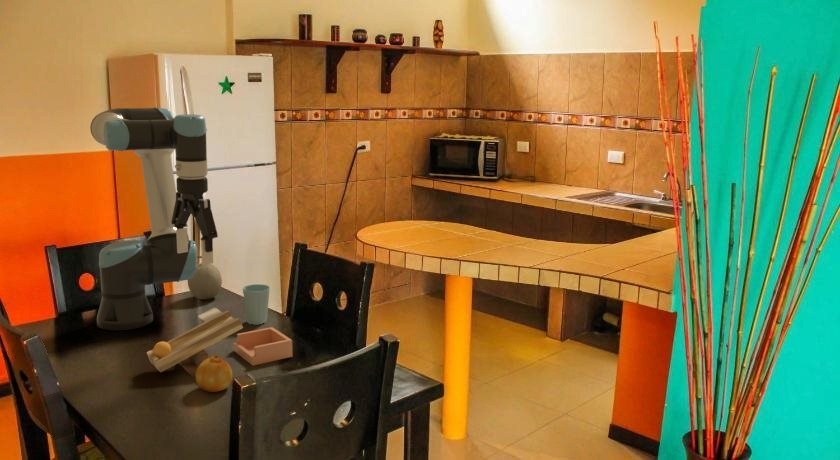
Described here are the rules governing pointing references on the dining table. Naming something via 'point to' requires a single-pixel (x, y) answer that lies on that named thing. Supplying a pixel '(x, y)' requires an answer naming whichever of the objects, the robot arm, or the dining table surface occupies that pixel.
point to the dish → (263, 346)
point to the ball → (162, 349)
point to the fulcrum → (194, 362)
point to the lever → (197, 338)
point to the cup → (256, 303)
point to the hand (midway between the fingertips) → (194, 258)
